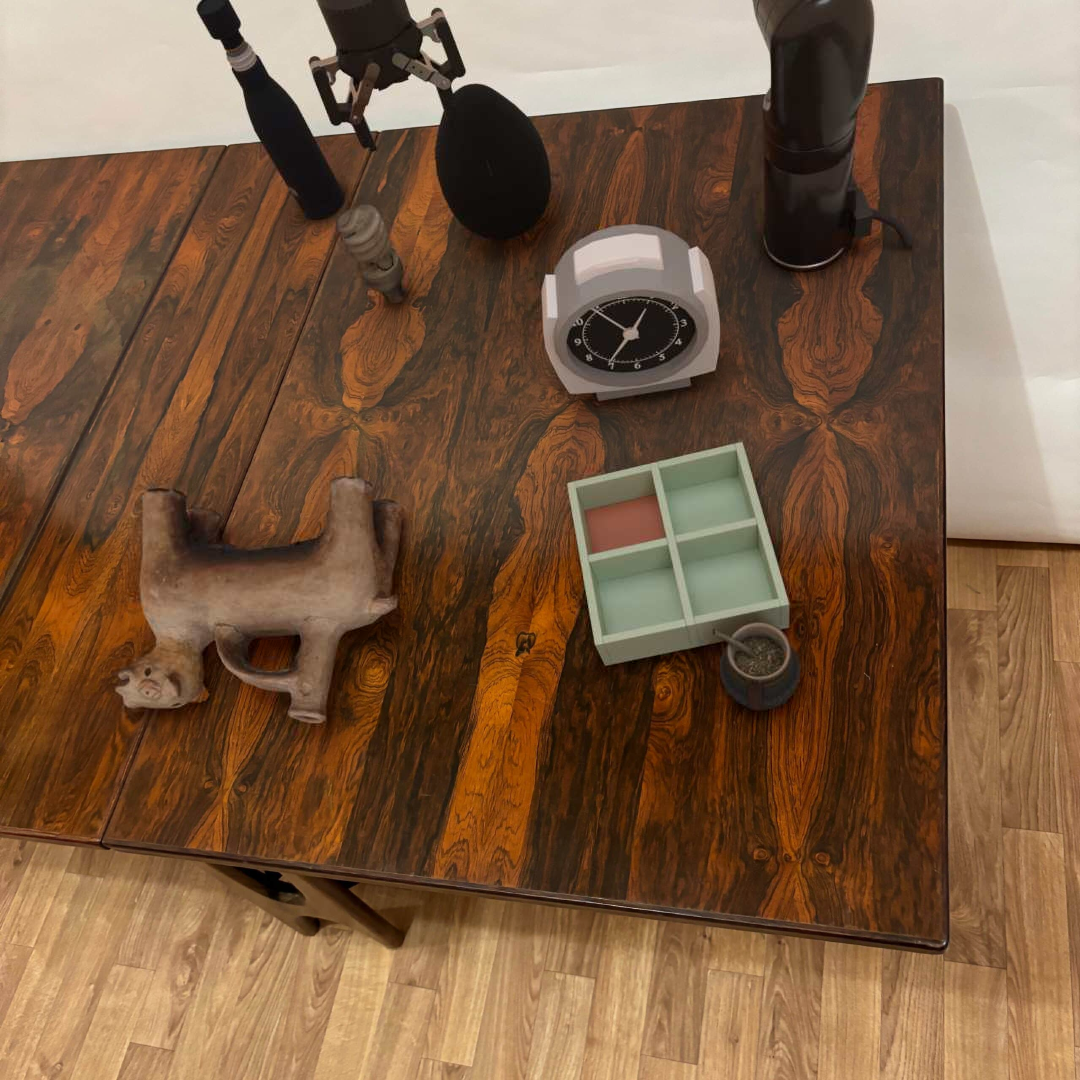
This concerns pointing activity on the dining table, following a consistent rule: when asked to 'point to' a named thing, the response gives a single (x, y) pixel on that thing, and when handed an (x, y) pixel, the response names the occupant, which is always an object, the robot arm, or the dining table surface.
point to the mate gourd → (759, 666)
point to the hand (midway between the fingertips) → (411, 131)
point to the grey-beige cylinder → (372, 250)
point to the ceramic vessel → (258, 596)
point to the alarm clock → (630, 313)
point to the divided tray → (675, 554)
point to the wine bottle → (275, 118)
